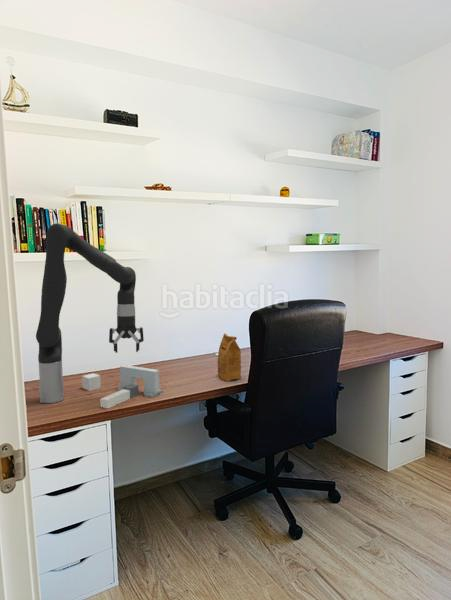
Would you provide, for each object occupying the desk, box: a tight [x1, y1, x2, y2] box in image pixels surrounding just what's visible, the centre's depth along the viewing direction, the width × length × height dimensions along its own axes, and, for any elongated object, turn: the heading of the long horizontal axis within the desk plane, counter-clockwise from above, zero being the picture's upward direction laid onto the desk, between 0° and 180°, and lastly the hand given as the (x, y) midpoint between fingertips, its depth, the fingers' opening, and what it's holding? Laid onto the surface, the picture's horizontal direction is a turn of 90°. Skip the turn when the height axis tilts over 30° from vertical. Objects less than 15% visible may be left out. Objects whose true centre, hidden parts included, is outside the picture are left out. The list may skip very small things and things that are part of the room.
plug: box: [99, 384, 140, 409], centre depth 179 cm, size 19×4×4 cm, turn 152°
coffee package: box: [217, 333, 242, 382], centre depth 210 cm, size 10×12×22 cm
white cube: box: [81, 373, 102, 392], centre depth 197 cm, size 6×6×6 cm
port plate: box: [116, 364, 164, 399], centre depth 190 cm, size 8×20×11 cm, turn 62°
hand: (126, 352), depth 179 cm, fingers open, 8 cm apart
